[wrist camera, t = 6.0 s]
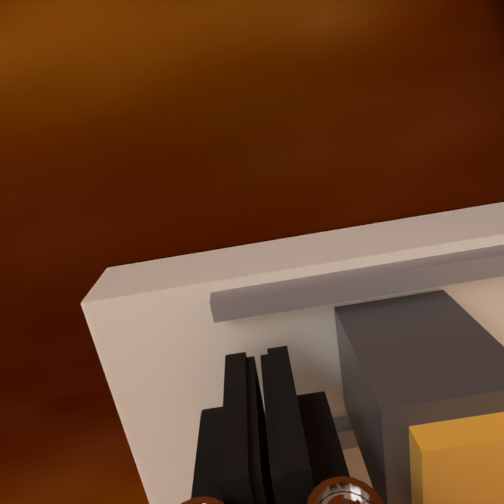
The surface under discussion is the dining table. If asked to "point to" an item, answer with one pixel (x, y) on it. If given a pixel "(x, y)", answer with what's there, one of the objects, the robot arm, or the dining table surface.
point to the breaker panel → (271, 321)
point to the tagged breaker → (424, 399)
